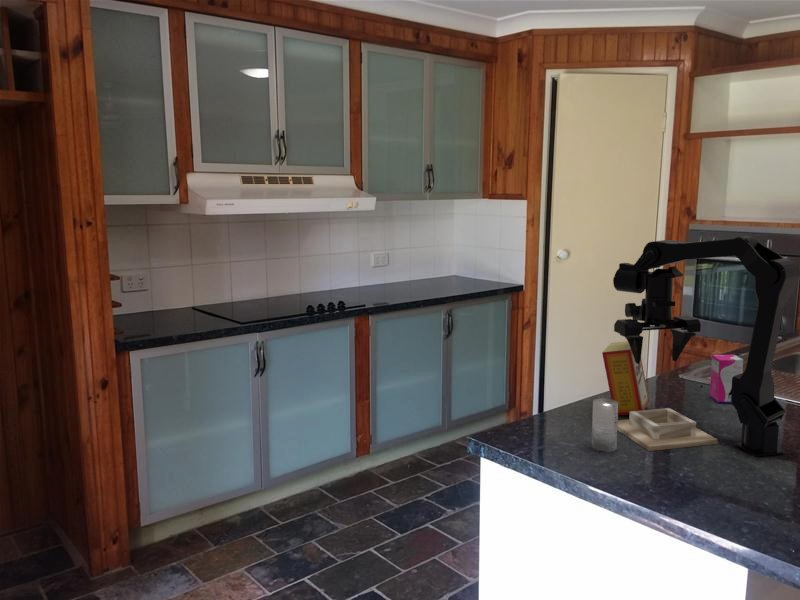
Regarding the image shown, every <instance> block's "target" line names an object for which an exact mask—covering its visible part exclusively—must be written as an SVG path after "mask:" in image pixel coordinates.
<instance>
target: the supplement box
mask: <svg viewBox="0 0 800 600" xmlns="http://www.w3.org/2000/svg"><path fill="white" fill-rule="evenodd" d="M710 363H711V364H710V367H711V368H710V388H709V389H710V390H709V398H711V399H712V400H713V401H714V402H715V403H717V404H719V405H720V404H721V405H722V404H723V405H724V404H725V405H726V404H728V405H729V404H730V405H732V403H731V396H732V395H728V394H729V392H730V391H731V388H732V378H733V376H736V375H738V374H741V373H744V371H743V370H744V369H743V367H744V365H743V364H744V359H743V358H742V357H739V356H738V355H736V354H711V362H710Z"/></svg>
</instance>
